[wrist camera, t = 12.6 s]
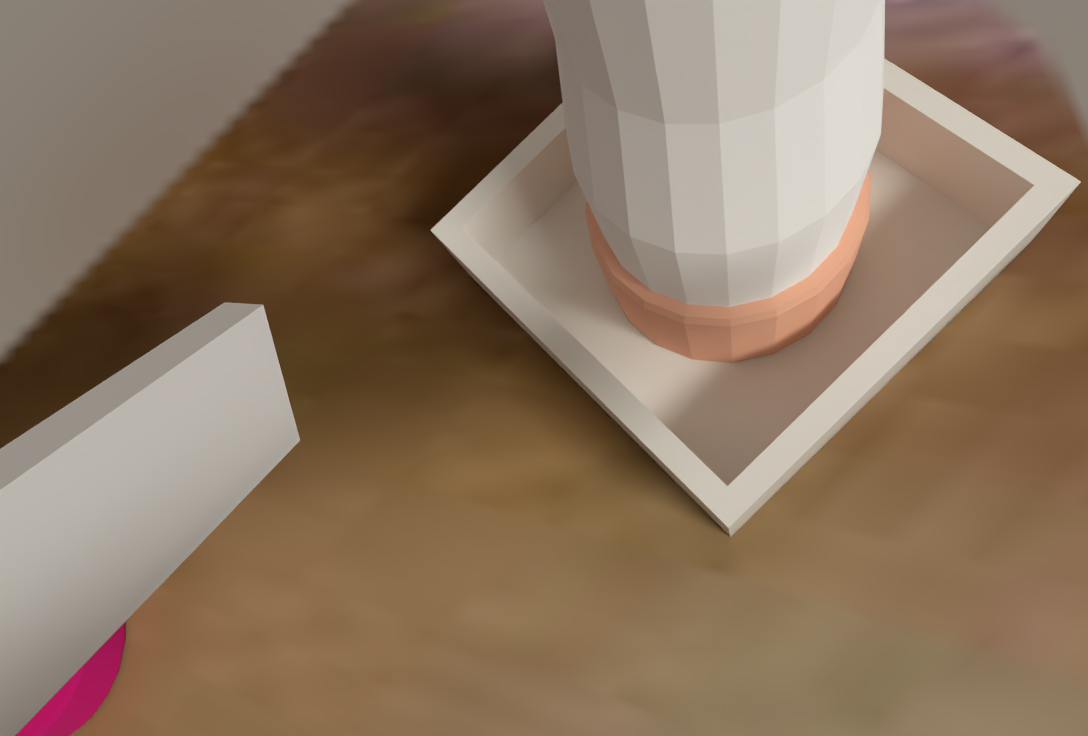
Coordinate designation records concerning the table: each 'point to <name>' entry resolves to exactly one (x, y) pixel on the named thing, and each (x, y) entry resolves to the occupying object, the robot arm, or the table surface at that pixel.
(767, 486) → the tray
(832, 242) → the pepper shaker
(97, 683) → the pepper mill
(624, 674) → the table surface
